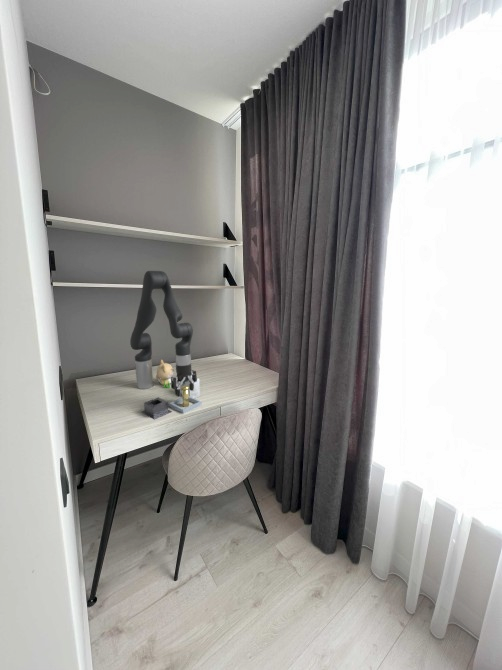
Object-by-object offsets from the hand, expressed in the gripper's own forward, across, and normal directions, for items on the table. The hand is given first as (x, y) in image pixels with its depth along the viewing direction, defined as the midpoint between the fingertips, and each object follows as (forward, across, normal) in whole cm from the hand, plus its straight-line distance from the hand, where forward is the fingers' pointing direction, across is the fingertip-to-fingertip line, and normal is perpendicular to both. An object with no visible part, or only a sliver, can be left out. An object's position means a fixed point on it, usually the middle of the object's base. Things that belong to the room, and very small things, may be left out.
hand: (184, 393), depth 139 cm
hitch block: (+8, +13, -6) cm, 16 cm away
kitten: (+8, -12, -35) cm, 38 cm away
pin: (+8, 0, 0) cm, 8 cm away
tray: (+8, 0, 0) cm, 8 cm away
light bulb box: (+8, -11, -10) cm, 17 cm away
